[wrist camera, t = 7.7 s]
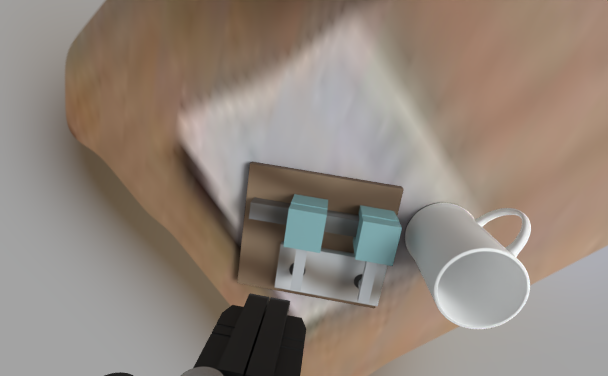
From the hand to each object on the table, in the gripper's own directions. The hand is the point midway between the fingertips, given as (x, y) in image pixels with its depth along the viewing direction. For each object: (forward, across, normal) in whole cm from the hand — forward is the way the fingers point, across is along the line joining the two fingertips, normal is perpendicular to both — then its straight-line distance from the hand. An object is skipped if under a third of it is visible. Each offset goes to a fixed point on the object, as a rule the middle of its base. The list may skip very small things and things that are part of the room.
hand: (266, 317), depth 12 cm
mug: (+29, -18, +5) cm, 34 cm away
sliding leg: (+27, 0, +9) cm, 29 cm away
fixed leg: (+27, -8, +9) cm, 30 cm away
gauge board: (+29, -2, +9) cm, 30 cm away
